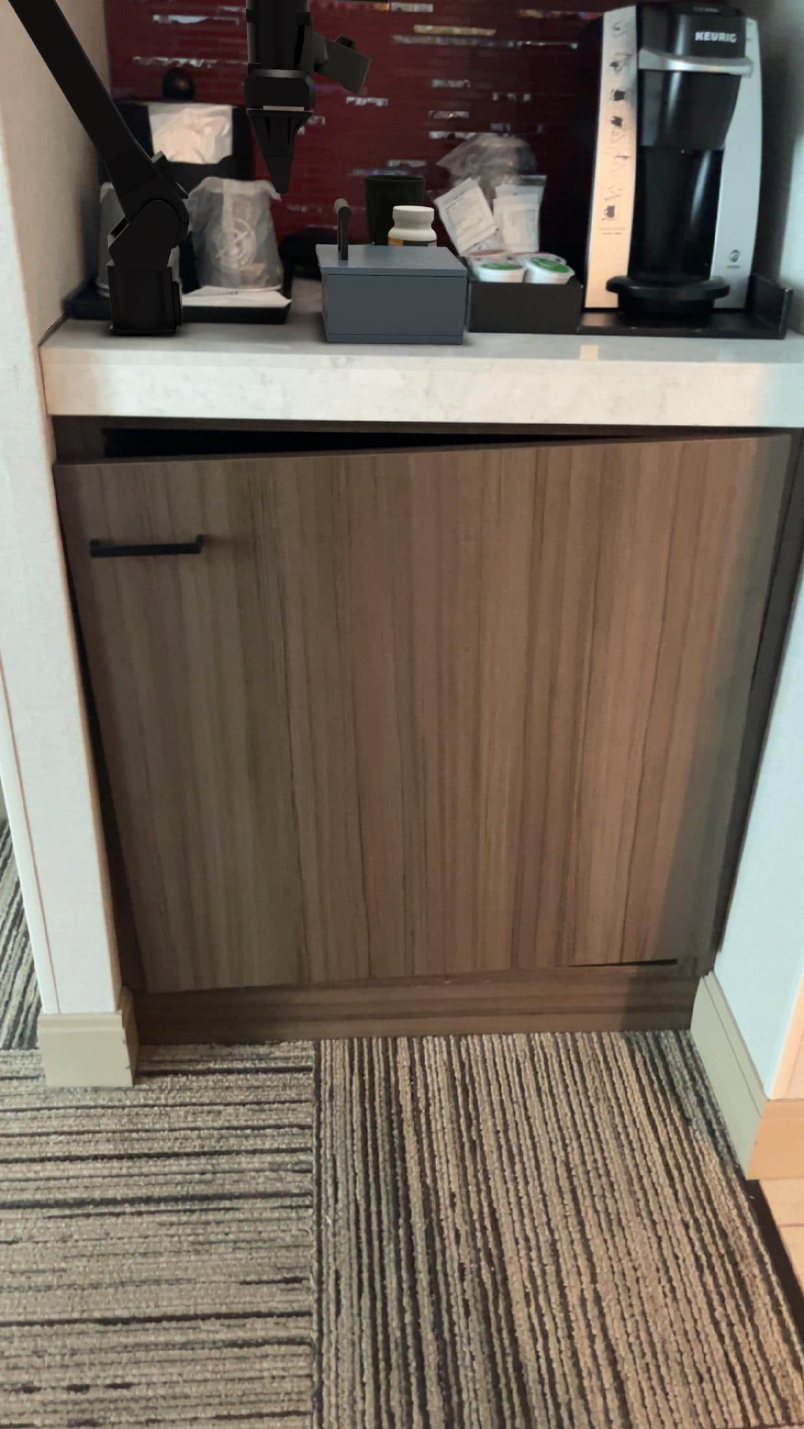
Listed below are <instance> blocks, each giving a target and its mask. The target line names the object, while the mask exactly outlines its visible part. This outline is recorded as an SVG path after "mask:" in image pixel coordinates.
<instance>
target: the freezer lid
mask: <svg viewBox="0 0 804 1429" xmlns="http://www.w3.org/2000/svg"><path fill="white" fill-rule="evenodd" d="M333 206H334V207H333V208H334V210H335V212H336V215H337V244H318V243H317V244H315V253H316V258H317V262H318V264H319V265H318V267H319V266H320V267H319V270H320V274H321V275H322V274H345V275H402V276H459V277H467V276H468V269H467V267H465V265H464V264H463V263H462V262H461V261H460V260H459V259H458V258H457V256H455V255H454V254H453V253H452V252H451V250H449V248H448V247H447V246H436V247H416V246H368V245H353V244H349V221H351V219H352V218H353V210H352V209H351V207H350V205H349V202H348V201H347V200H346V199H345V198H338V199H336V200H335V202H334V205H333ZM348 244H349V245H348Z"/></svg>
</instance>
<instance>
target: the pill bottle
mask: <svg viewBox="0 0 804 1429" xmlns="http://www.w3.org/2000/svg"><path fill="white" fill-rule="evenodd" d="M393 219H394V221H395V226H394V227H393V228H392V229H391V230H390V231H389V234H388V246H416V247H437V240H438V238H437V234H436V231H435V230H434V229H433V228H432V223H433V221H434V220H435V209H434V208H433V207H427V206H423V207H421V206H395V207H394V208H393Z"/></svg>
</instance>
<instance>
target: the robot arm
mask: <svg viewBox="0 0 804 1429" xmlns="http://www.w3.org/2000/svg"><path fill="white" fill-rule="evenodd" d="M329 1H332V2H333V1H334V2H348V3H369V4H386V5H387V4H388V3H389V2H390V0H329ZM7 2H8V3H9V4H10V7H11V8H12V9H13V11H14V13H15V14H16V16H17V18H18V19H19V21H20V23H21V24H22V26H23V29H25V31H26V33H27V35H28V37H29V38H30V40H31V41H32V43H33V45H34V46H35V48H36V50H37V52H38V53H39V56H40V57H41V58H42V61H43V62H44V63H45V65H46V67H47V68H48V70H49V72H50V73H51V75H52V77H53V79H54V80H55V82H56V84H57V85H58V87H59V88H60V91H61V92H62V94H63V95H64V97H65V99H66V101H67V102H68V104H69V106H70V107H71V109H72V111H73V113H74V114H75V116H76V117H77V119H78V121H79V123H80V124H81V126H82V127H83V130H84V131H85V132H86V135H87V136H88V138H89V140H90V141H91V143H92V145H93V146H94V148H95V149H96V151H97V153H98V155H99V156H100V158H101V160H102V163H103V165H104V167H105V170H106V173H107V175H108V178H109V180H110V183H111V185H112V187H113V190H114V193H115V195H116V198H117V200H118V202H119V205H120V208H121V210H122V213H123V215H124V216H122V218H121V219H120V220H119V222H118V223H117V224H116V225H114V227H113V228H112V230H111V231H110V232H109V233H108V234H107V248H108V253H109V255H110V257H111V259H110V260H109V261H108V262H107V263H106V264H105V269H106V278H107V279H106V280H107V287H108V297H109V305H110V306H109V307H110V315H111V325H110V326H109V334H111V335H113V334H114V335H176V334H177V333H178V330H179V327H180V326H181V325H183V322H184V305H183V291H182V279H181V278H180V277H178V276H176V274H175V261H174V260H173V261H172V260H170V259H171V258H170V257H171V254H172V250H173V249H174V250H175V249H176V248H177V247H178V246H180V245H181V244H182V243H183V242H184V239H185V238H186V237H187V235H188V232H189V228H190V214H189V210H188V209H187V206H186V203H185V202H184V200H188V199H189V198H190V196H189V194H188V193H187V191H186V190H185V188H184V187H183V186H181V185H180V184H179V183H178V182H177V181H176V178H175V176H174V174H173V171H172V169H171V166H170V163H169V161H168V157H167V156H166V154H165V152H164V151H163V150H159V151H158V152H157V153H156V154H154V155H153V156H152V157H150V156H149V155H148V153H147V152H146V151H145V149H144V148H143V147H142V146H141V144H140V143H139V142H138V140H136V138H135V137H134V135H133V133H132V132H131V130H130V128H129V127H128V124H127V123H126V121H125V120H124V118H123V116H122V114H121V113H120V111H119V109H118V107H117V105H116V104H115V102H114V101H113V98H112V97H111V95H110V93H109V90H107V88H106V86H105V85H104V84H105V83H103V81H102V79H101V78H100V75H99V74H98V72H97V70H96V68H95V67H94V65H93V62H91V59H90V58H89V56H88V54H87V53H86V51H85V49H84V48H83V45H82V43H81V42H80V40H79V39H78V37H77V35H76V33H75V31H74V30H73V28H72V27H71V24H70V23H69V21H68V19H67V18H66V15H65V14H64V12H63V10H62V8H61V7H60V5H59V3H58V1H57V0H7ZM245 23H246V38H247V77H246V78H245V79H244V80H243V88H244V89H243V90H244V92H243V93H244V106H248V107H249V108H248V107H247V108H246V113H247V116H248V119H249V122H250V125H251V127H252V130H253V133H254V135H255V138H256V141H257V144H258V146H259V150H260V152H261V154H262V157H263V161H264V163H265V166H266V169H267V171H268V174H269V177H270V179H271V182H272V185H273V188H274V191H275V193H276V194H279V195H281V194H282V195H283V194H284V195H285V194H287V193H289V187H290V182H291V174H292V167H293V161H294V156H295V149H296V142H297V136H298V133H299V131H300V129H301V128H302V127H304V125H305V124H306V123H307V122H308V121H309V120H310V119H312V117H313V115H314V110H311V108H313V109H314V108H316V102H317V101H316V82H315V81H314V80H313V79H315V73H316V74H317V75H320V76H322V77H324V78H326V79H329V80H331V81H333V82H335V83H337V84H340V85H341V86H342V88H343V89H345V90H347V91H349V92H351V93H353V94H355V95H358V96H360V95H361V93H362V89H363V86H364V83H365V80H366V77H367V75H368V72H369V69H370V66H371V63H372V58H370V57H369V56H366V55H364V54H362V53H360V52H358V51H357V43H356V40H354V39H351V38H349V37H347V36H345V35H344V34H342V33H341V34H340V35H339V36H338V37H337V38H336V39H335V40H333V39H331V38H329V37H326V36H324V35H322V34H319V33H318V32H315V31H314V30H315V28H314V27H315V26H314V25H315V24H314V15H311V11H310V0H245Z"/></svg>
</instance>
